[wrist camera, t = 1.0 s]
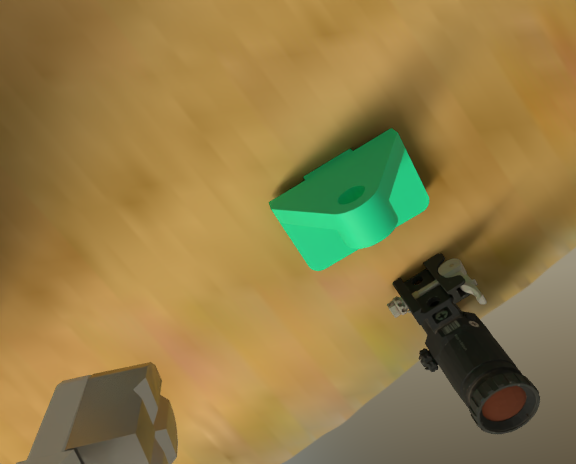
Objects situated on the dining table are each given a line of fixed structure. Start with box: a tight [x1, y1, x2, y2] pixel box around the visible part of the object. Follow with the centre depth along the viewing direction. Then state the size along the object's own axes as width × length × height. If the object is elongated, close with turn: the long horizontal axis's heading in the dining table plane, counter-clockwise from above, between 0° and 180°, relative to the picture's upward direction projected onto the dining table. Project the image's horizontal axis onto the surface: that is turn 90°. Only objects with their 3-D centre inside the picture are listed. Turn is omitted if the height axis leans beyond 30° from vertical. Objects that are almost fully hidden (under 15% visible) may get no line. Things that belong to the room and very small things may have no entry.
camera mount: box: [269, 128, 429, 271], centre depth 41 cm, size 12×8×10 cm, turn 120°
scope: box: [387, 254, 540, 434], centre depth 46 cm, size 8×14×10 cm
